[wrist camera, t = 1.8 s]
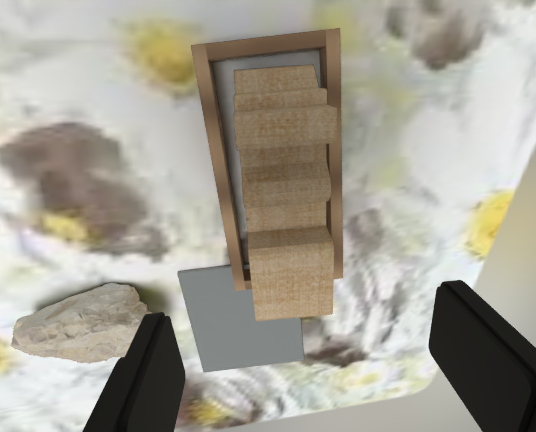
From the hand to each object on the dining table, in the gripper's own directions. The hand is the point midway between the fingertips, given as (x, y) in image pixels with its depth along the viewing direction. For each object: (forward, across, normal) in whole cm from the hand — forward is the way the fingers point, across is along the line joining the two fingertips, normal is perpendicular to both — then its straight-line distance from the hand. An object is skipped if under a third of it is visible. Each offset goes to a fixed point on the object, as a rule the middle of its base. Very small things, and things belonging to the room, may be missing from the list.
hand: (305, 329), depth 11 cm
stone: (+19, +19, +13) cm, 30 cm away
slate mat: (+19, +4, +16) cm, 25 cm away
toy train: (+19, 0, -1) cm, 19 cm away
